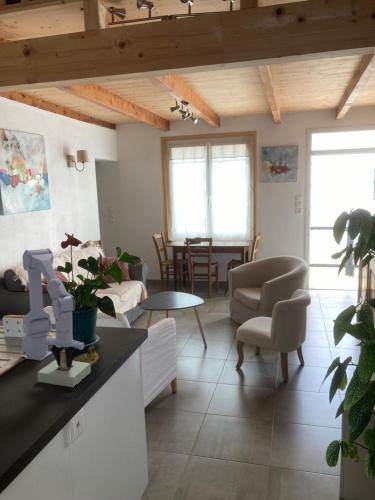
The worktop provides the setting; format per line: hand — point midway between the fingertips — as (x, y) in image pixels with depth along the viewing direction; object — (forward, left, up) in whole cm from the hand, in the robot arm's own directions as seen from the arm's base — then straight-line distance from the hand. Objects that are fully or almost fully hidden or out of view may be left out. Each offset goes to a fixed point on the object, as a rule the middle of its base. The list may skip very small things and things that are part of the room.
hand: (64, 365), depth 143 cm
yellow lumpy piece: (0, +14, -5) cm, 15 cm away
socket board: (0, 0, -4) cm, 4 cm away
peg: (0, 0, -2) cm, 2 cm away
